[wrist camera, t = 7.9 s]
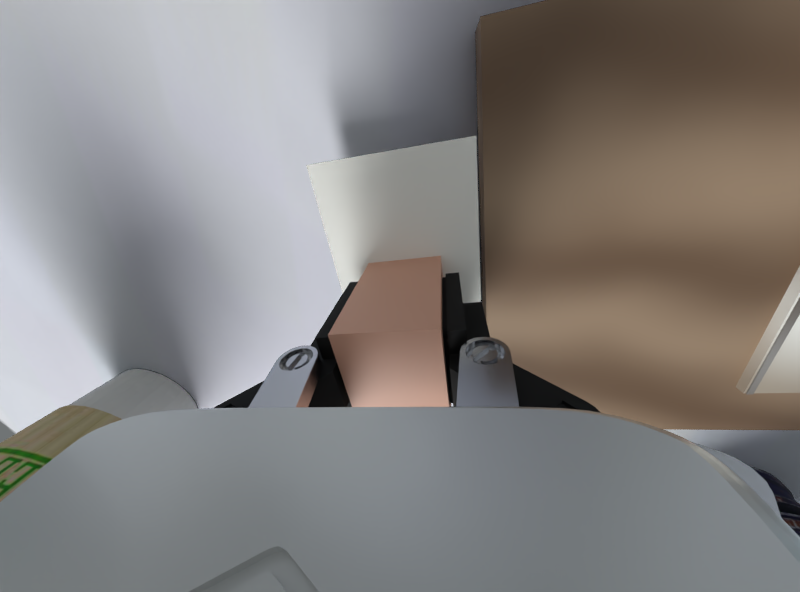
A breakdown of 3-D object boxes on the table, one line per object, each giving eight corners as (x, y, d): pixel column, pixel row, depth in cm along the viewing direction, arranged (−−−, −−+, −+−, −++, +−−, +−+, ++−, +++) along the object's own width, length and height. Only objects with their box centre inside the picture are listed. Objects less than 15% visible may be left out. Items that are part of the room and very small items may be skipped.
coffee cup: (164, 337, 19) (-484, 808, 6) (245, 435, 23) (-15, 833, 10) (64, 360, 21) (-546, 724, 8) (154, 445, 25) (-149, 773, 12)
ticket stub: (310, 164, 11) (211, 186, 6) (475, 135, 10) (505, 136, 5) (373, 393, 16) (346, 496, 12) (483, 391, 15) (501, 504, 11)
